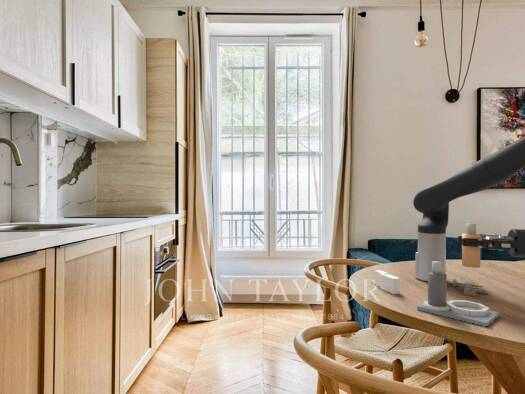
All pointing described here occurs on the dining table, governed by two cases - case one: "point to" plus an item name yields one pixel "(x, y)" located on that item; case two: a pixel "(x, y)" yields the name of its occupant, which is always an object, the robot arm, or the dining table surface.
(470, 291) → the clamp
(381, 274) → the white stepped block
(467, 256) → the orange lotion bottle
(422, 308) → the bottle holder tray
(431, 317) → the dining table surface
